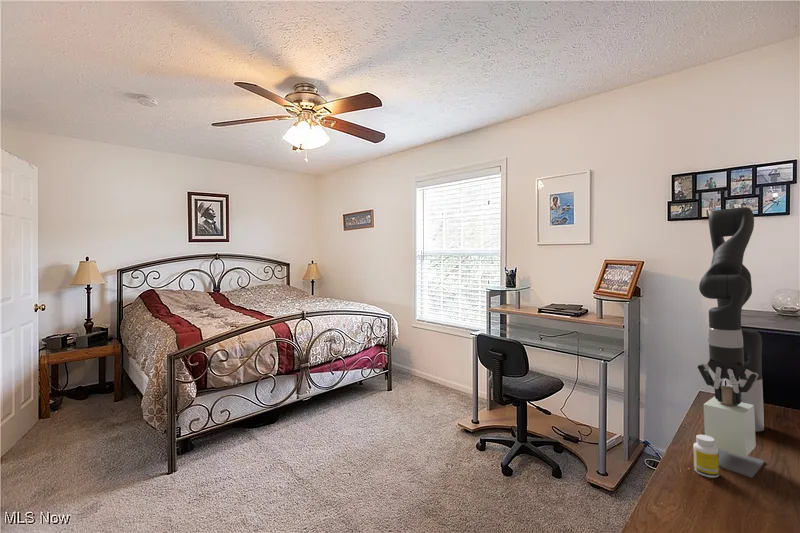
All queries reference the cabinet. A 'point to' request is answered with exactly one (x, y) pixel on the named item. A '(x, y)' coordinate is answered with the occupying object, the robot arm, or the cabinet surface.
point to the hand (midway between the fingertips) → (728, 402)
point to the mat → (739, 463)
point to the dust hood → (730, 423)
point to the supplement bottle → (706, 456)
